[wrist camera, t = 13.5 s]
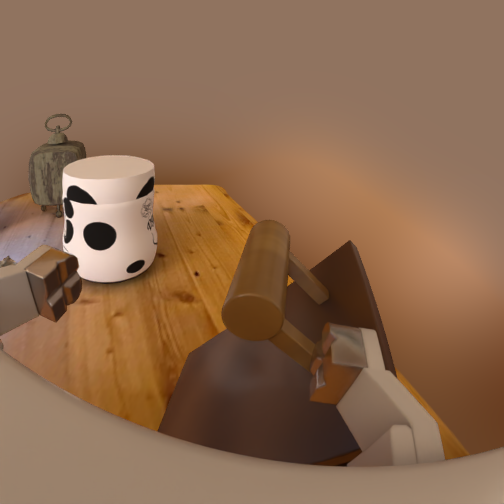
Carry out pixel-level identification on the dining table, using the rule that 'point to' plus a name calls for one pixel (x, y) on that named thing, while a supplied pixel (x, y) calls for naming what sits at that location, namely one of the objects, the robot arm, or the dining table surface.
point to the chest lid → (274, 356)
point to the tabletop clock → (52, 166)
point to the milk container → (109, 216)
